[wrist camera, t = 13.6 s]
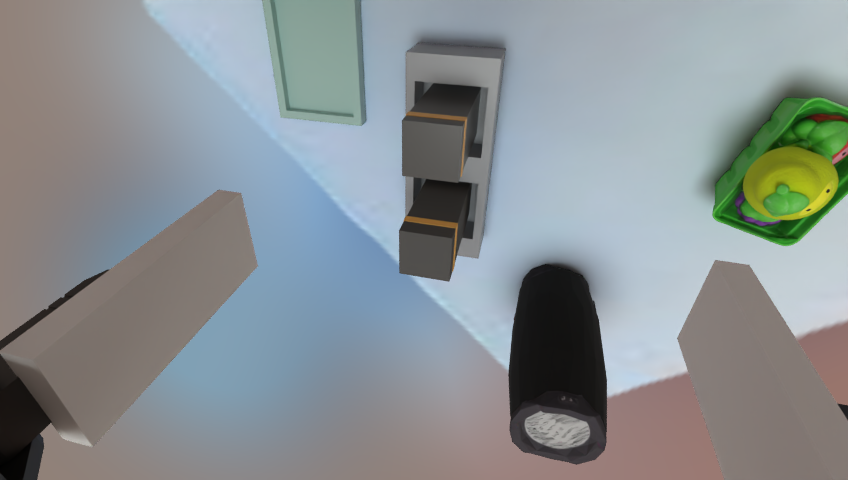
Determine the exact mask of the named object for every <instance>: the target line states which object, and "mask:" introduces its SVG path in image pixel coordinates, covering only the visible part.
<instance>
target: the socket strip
mask: <svg viewBox="0 0 848 480" xmlns="http://www.w3.org/2000/svg"><path fill="white" fill-rule="evenodd" d="M504 58H505V49H501V48H487V47H473V46H458V45H444V44H430V43H417V44H416V45H415V46H413V47H412V48H411V49H409V50H408V51H407V52H406V116H405V118H404V119H403V120H402V176H406V216H407V215H408V213H409V211H410V209H411V207H412V205H413V203H414V201H415V200H416V198H417V196H418V194H419V192H420V190H421V188H422V186H423V184H424V182H425V180H426V179H431V180H439V181H447V182H455V183H458V182H459V181H461V182H469V183H472V189H471V199H470V210H469V216H468V220H467V223H466V226H465V230H464V233H463V237H462V240H461V243H460V247H459V250H458V254H457V255H458V256H465V257H471V258H479V253H480V249H481V244H482V240H483V234H484V226H485V217H486V209H487V201H488V192H489V184H490V175H491V167H492V159H493V150H494V142H495V133H496V125H497V117H498V108H499V100H500V91H501V83H502V75H503V66H504Z"/></svg>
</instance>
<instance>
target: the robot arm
mask: <svg viewBox="0 0 848 480" xmlns="http://www.w3.org/2000/svg"><path fill="white" fill-rule="evenodd" d="M257 266H258V265H257V260H256V256H255V252H254V247H253V243H252V238H251V234H250V230H249V225H248V221H247V217H246V212H245V208H244V204H243V199H242V195H241V193H237V192H230V191H223V190H217V191H216V192H215V193H213V194H212V195H211V196H209V197H208V198H207V199H205V200H204V201H203V202H201V203H200V204H199V205H197V206H196V207H194V208H193V209H192V210H190V211H189V212H188V213H186V214H185V215H184V216H182V217H181V218H179V219H178V220H177V221H175V222H174V223H173V224H171V225H170V226H169V227H167V228H166V229H164V230H163V231H162V232H160V233H159V234H158V235H156V236H155V237H154V238H152V239H151V240H149V241H148V242H147V243H146V244H144V245H143V246H141V247H140V248H139V249H137V250H136V251H135V252H133V253H132V254H130V255H129V256H128V257H126V258H125V259H124V260H122V261H121V262H120V263H118V264H117V265H115V266H114V267H113V268H111V269H110V270H106V271H104V272H102V273H99V274H97V275H95V276H93V277H91V278H89V279H86V280H84V281H83V282H81V283H80V284H79V285H77V286H76V287H75V288H73V289H72V290H70V291H69V292H68V293H66V294H65V297H64V298H59V299H58V300H57V301H55V302H54V303H52V304H51V305H50V306H49V308H48V309H47V310H46V309H44V310H42V311H41V312H40V313H38V314H37V315H36V316H34V317H33V318H31V319H30V320H29V321H27V322H26V323H24V324H23V325H22V326H20V327H19V328H17V329H16V330H15V331H13V332H12V333H10V334H9V335H8V336H6V337H5V338H4V339H2V340H1V341H0V480H37V477H38V473H39V468H40V463H41V458H42V453H43V449H44V443H43V437H42V436H41V435H40V433H41V432H42V431H43V430H44V429H45V428H46V427H47V426H48V425H49V424H50V423H52V425H53V426H54V427H55V429H56V430H57V431H58V433H59V434H60V435H61V437H62V438H63V439H64V440H68V441H72V442H75V443H79V444H83V445H87V446H90V447H94V446H95V444H96V443H97V442H98V441H99V440H100V439H101V438H102V437H103V436H104V435H105V433H106V432H107V431H108V430H109V429H110V428H111V427H112V426H113V425H114V424H115V423H116V421H117V420H118V419H119V418H120V417H121V416H122V415H123V414H124V413H125V411H126V410H127V409H128V408H129V407H130V406H131V405H132V404H133V403H134V402H135V400H136V399H137V398H138V397H139V396H140V395H141V394H142V393H143V392H144V391H145V390H146V388H147V387H148V386H149V385H150V384H151V383H152V382H153V381H154V380H155V378H156V377H157V376H158V375H159V374H160V373H161V372H162V371H163V370H164V369H165V368H166V366H167V365H168V364H169V363H170V362H171V361H172V360H173V359H174V358H175V357H176V355H177V354H178V353H179V352H180V351H181V350H182V349H183V348H184V347H185V346H186V344H187V343H188V342H189V341H190V340H191V339H192V338H193V337H194V336H195V334H196V333H197V332H198V331H199V330H200V329H201V328H202V327H203V326H204V325H205V323H206V322H207V321H208V320H209V319H210V318H211V317H212V316H213V315H214V314H215V313H216V311H217V310H218V309H219V308H220V307H221V306H222V305H223V304H224V303H225V301H226V300H227V299H228V298H229V297H230V296H231V295H232V294H233V293H234V292H235V291H236V289H237V288H238V287H239V286H240V285H241V284H242V283H243V282H244V281H245V280H246V278H247V277H248V276H249V275H250V274H251V273H252V272H253V271H254V270H255V269H256V268H257ZM677 339H678V342H679V345H680V348H681V351H682V354H683V357H684V360H685V363H686V366H687V369H688V372H689V375H690V378H691V381H692V384H693V387H694V390H695V393H696V396H697V399H698V402H699V405H700V408H701V411H702V414H703V417H704V420H705V423H706V426H707V429H708V432H709V435H710V438H711V441H712V444H713V447H714V450H715V453H716V456H717V459H718V462H719V465H720V468H721V471H722V474H723V477H724V480H848V406H847V405H842V404H837V403H836V401H835V400H834V398H833V396H832V395H831V393H830V392H829V390H828V388H827V387H826V385H825V384H824V382H823V381H822V379H821V377H820V376H819V374H818V373H817V371H816V370H815V368H814V366H813V365H812V363H811V362H810V360H809V359H808V357H807V355H806V354H805V353H804V351H803V349H802V348H801V346H800V344H799V343H798V341H797V340H796V338H795V336H794V335H793V333H792V332H791V330H790V329H789V327H788V325H787V324H786V322H785V321H784V319H783V318H782V316H781V314H780V313H779V311H778V310H777V308H776V307H775V305H774V303H773V302H772V300H771V299H770V297H769V296H768V294H767V292H766V291H765V289H764V288H763V286H762V285H761V283H760V281H759V280H758V278H757V277H756V275H755V274H754V272H753V270H752V269H751V267H750V266H749V265H746V264H739V263H732V262H725V261H718V260H715V262H714V264H713V266H712V268H711V270H710V272H709V274H708V276H707V278H706V280H705V282H704V284H703V286H702V288H701V290H700V293H699V295H698V297H697V299H696V301H695V303H694V305H693V307H692V309H691V311H690V313H689V315H688V317H687V319H686V321H685V323H684V325H683V328H682V330H681V332H680V334H679V336H678V338H677Z"/></svg>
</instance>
